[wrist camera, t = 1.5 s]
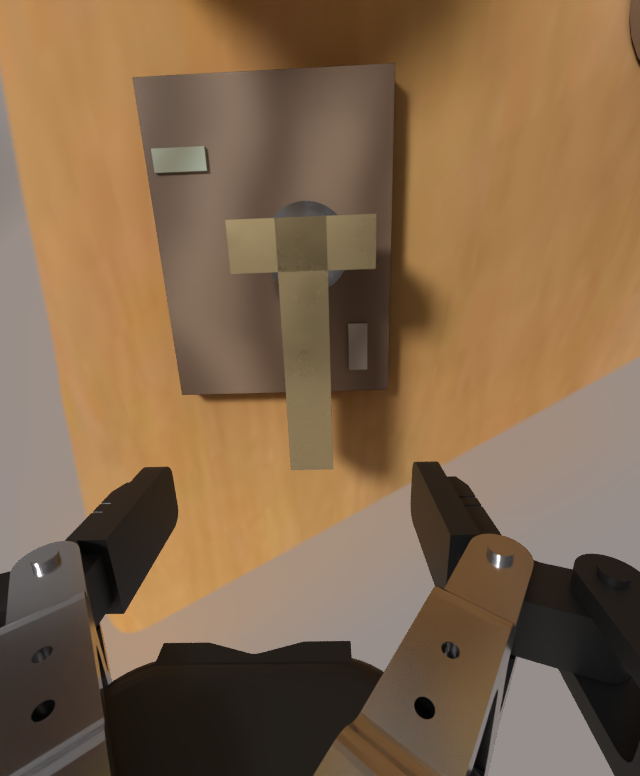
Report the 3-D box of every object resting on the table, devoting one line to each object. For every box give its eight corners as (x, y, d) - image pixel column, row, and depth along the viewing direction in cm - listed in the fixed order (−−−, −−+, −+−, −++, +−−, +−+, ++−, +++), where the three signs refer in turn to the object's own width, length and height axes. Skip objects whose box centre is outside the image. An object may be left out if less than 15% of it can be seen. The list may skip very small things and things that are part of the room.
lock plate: (390, 77, 21) (395, 61, 19) (384, 383, 26) (388, 390, 25) (145, 90, 21) (130, 75, 20) (190, 388, 27) (181, 395, 25)
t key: (366, 201, 21) (376, 182, 17) (365, 431, 26) (373, 468, 21) (245, 206, 22) (221, 188, 17) (265, 433, 26) (251, 470, 21)
